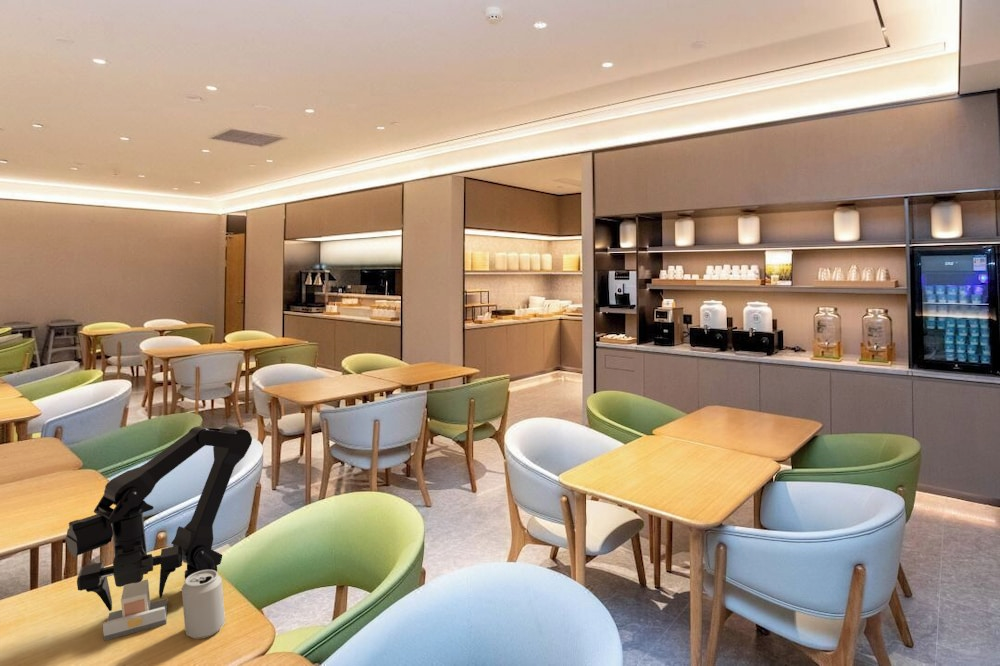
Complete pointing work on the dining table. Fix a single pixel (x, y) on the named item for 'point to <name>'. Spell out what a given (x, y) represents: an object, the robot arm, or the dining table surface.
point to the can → (203, 604)
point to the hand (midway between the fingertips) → (136, 603)
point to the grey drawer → (135, 620)
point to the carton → (135, 598)
